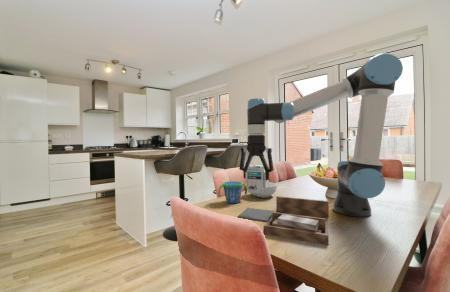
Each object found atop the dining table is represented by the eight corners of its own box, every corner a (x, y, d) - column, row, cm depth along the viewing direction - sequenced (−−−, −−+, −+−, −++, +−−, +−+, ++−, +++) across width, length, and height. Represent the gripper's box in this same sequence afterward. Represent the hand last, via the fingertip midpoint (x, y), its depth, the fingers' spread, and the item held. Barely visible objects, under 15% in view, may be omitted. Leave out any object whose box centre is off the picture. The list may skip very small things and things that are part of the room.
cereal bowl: (256, 191, 146) (256, 180, 146) (281, 194, 136) (281, 183, 136) (242, 197, 132) (242, 184, 132) (269, 201, 122) (269, 188, 122)
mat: (274, 212, 105) (274, 210, 105) (267, 221, 93) (267, 220, 93) (247, 208, 110) (247, 207, 110) (237, 217, 98) (237, 216, 98)
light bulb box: (263, 193, 95) (263, 167, 95) (247, 193, 96) (247, 167, 96) (264, 188, 105) (264, 164, 105) (249, 187, 107) (249, 164, 106)
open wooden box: (328, 220, 94) (328, 201, 93) (328, 244, 72) (328, 219, 72) (276, 213, 102) (276, 196, 102) (263, 234, 81) (263, 211, 81)
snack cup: (220, 205, 116) (219, 185, 115) (217, 200, 126) (216, 181, 126) (249, 203, 118) (249, 184, 118) (244, 198, 129) (244, 180, 128)
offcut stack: (321, 235, 80) (321, 220, 80) (318, 242, 75) (318, 226, 75) (276, 226, 88) (276, 213, 88) (271, 232, 83) (271, 218, 83)
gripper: (281, 134, 99) (281, 186, 100) (237, 135, 108) (237, 183, 109) (277, 134, 92) (277, 190, 93) (231, 134, 101) (231, 186, 102)
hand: (256, 186), depth 101 cm, fingers closed on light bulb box, 7 cm apart
